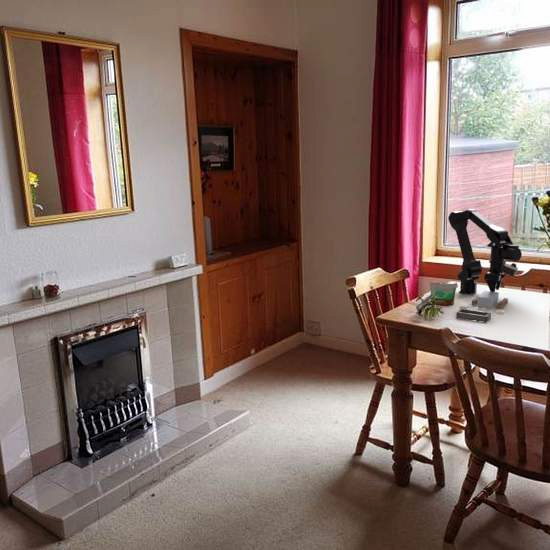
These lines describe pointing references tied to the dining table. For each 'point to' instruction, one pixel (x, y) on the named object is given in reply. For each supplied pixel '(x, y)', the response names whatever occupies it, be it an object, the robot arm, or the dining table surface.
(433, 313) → the green spiky leafy piece
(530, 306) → the dining table surface
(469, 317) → the tray
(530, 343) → the dining table surface
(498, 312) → the tiles
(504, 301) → the lane
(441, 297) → the food container
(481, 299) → the block
